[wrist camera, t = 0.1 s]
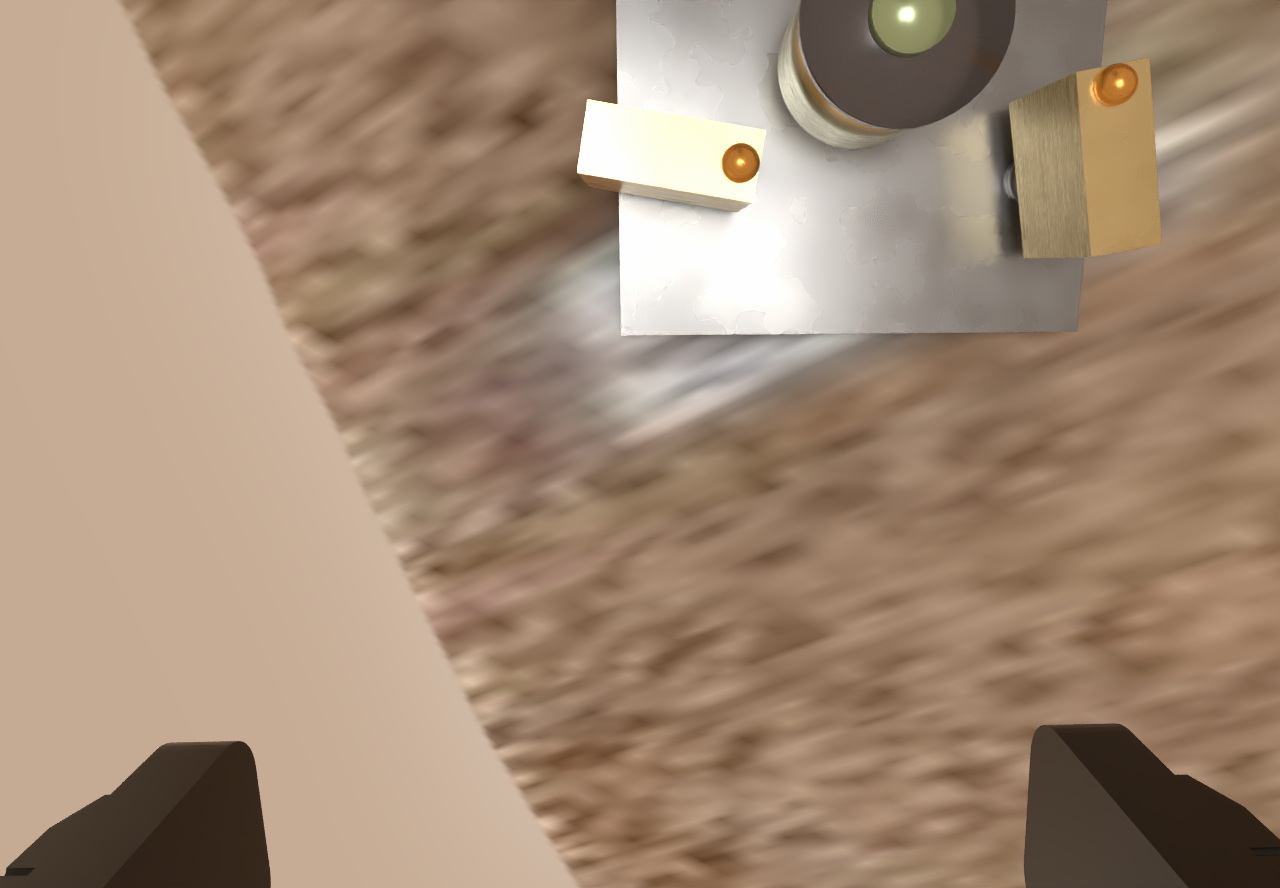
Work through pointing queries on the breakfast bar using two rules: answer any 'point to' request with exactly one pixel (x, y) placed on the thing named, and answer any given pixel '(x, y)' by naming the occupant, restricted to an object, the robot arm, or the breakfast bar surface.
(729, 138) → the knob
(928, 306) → the plate
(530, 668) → the breakfast bar surface
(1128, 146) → the cream rectangular block
